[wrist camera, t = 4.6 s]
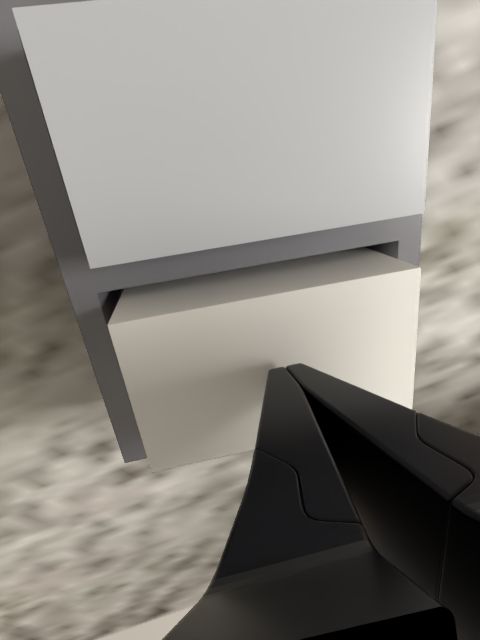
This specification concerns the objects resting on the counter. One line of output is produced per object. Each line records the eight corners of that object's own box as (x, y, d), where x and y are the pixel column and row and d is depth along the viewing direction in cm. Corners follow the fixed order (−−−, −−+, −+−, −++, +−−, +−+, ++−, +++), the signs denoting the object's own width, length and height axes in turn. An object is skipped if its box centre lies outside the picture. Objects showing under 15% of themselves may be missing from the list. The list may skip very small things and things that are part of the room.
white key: (362, 364, 13) (412, 413, 11) (156, 408, 12) (151, 472, 10) (362, 246, 12) (421, 267, 9) (124, 288, 11) (107, 325, 8)
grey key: (362, 204, 11) (424, 213, 8) (113, 245, 10) (90, 269, 8) (361, 30, 9) (438, -31, 7) (63, 62, 9) (11, 8, 6)
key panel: (358, 349, 16) (411, 398, 13) (136, 394, 15) (124, 463, 12) (353, -242, 10) (464, -505, 6) (-46, -233, 9) (-214, -548, 5)
